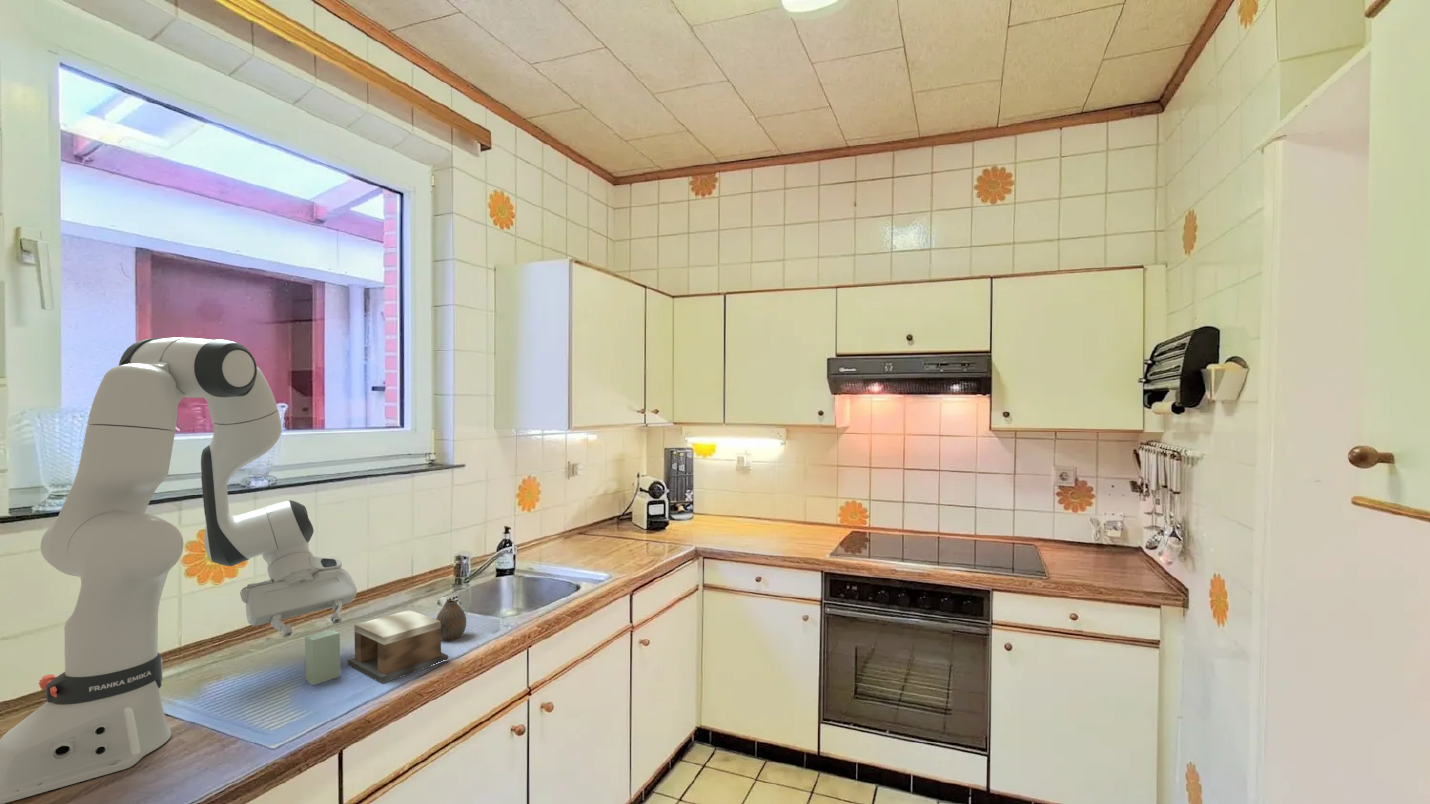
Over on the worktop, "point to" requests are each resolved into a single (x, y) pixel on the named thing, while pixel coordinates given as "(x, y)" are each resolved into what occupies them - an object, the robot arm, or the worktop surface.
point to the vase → (451, 621)
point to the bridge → (397, 645)
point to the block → (322, 656)
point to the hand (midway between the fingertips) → (313, 628)
